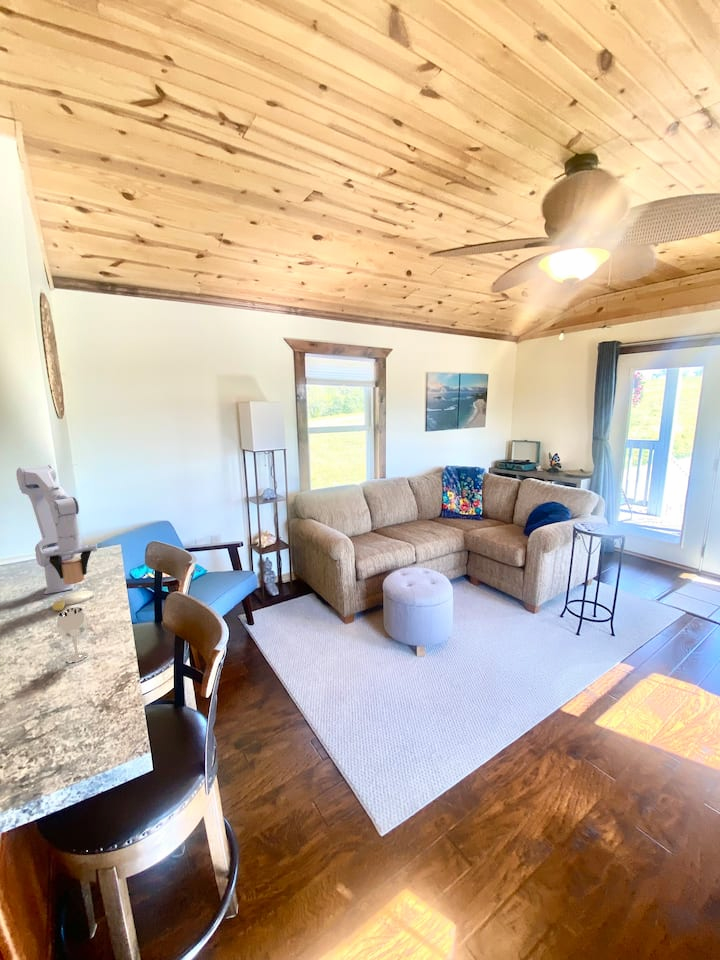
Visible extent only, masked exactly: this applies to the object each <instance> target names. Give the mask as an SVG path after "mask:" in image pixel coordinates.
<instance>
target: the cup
mask: <svg viewBox="0 0 720 960" xmlns="http://www.w3.org/2000/svg"><path fill="white" fill-rule="evenodd" d="M61 568H62V575H63V581H64V584H75V585H76V584H79V583H80V582H83V581H85V575H83V568H82V561H81V558H73V559H71V560H67V561H64V562H62V563H61Z"/></svg>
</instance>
